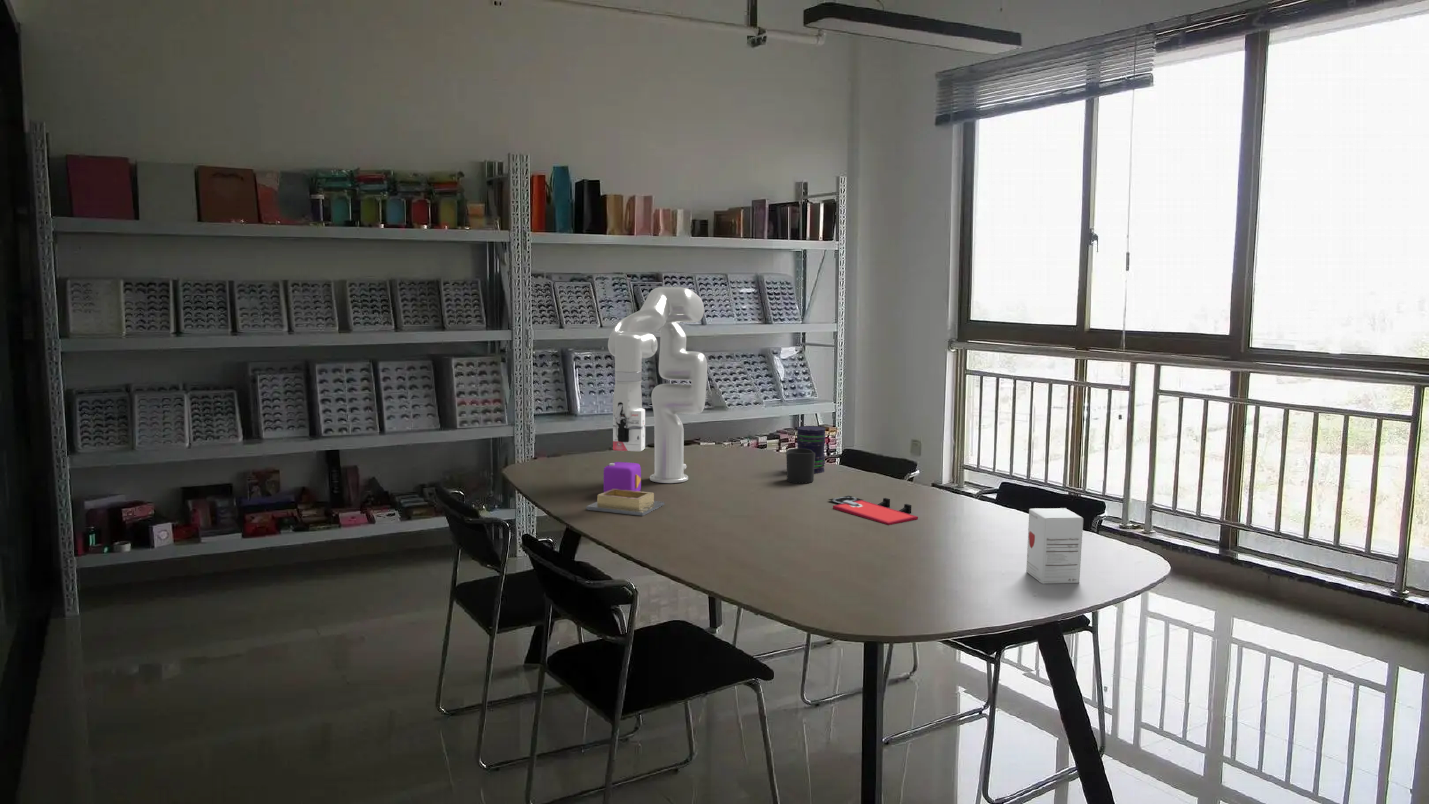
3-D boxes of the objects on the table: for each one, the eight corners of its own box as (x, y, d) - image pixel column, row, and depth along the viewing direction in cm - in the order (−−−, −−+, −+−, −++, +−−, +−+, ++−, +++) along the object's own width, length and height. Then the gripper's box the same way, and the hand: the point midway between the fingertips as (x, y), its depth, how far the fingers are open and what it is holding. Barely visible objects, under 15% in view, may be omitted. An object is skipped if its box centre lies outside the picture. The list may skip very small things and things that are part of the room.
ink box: (611, 450, 278) (611, 409, 277) (616, 447, 283) (616, 407, 282) (641, 451, 277) (641, 410, 275) (645, 448, 282) (645, 408, 280)
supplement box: (1024, 571, 223) (1027, 507, 221) (1062, 571, 223) (1066, 507, 222) (1041, 584, 214) (1044, 517, 212) (1080, 583, 214) (1084, 517, 213)
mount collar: (609, 499, 291) (609, 486, 291) (664, 505, 285) (664, 491, 284) (586, 509, 279) (586, 496, 278) (642, 515, 272) (642, 501, 271)
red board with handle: (853, 497, 297) (815, 504, 288) (853, 488, 296) (816, 495, 288) (927, 519, 273) (888, 528, 264) (927, 509, 272) (889, 518, 264)
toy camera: (645, 489, 306) (645, 457, 305) (637, 499, 292) (637, 466, 291) (611, 488, 307) (611, 457, 306) (602, 498, 293) (601, 465, 292)
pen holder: (819, 480, 321) (820, 450, 320) (806, 485, 313) (807, 454, 312) (794, 477, 326) (794, 447, 325) (780, 481, 318) (781, 451, 317)
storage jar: (797, 467, 342) (797, 425, 341) (825, 468, 341) (826, 426, 339) (795, 473, 333) (796, 429, 331) (824, 474, 331) (825, 430, 329)
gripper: (630, 374, 287) (630, 435, 289) (602, 379, 271) (602, 443, 273) (653, 375, 284) (653, 436, 286) (626, 380, 268) (626, 445, 270)
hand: (628, 439), depth 280 cm, fingers closed on ink box, 5 cm apart
